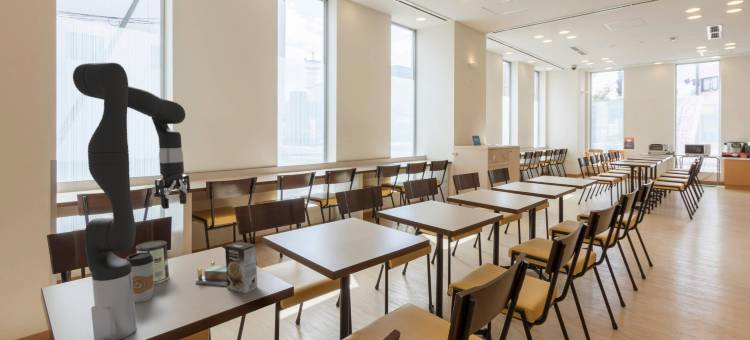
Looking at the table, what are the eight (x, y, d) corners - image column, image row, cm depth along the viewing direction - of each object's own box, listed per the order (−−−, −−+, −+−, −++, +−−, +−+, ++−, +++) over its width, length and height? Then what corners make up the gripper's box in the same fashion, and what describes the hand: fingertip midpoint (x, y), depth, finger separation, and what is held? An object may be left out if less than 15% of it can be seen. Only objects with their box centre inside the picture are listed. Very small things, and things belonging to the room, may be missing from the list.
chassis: (228, 286, 143) (228, 273, 143) (195, 283, 147) (194, 270, 146) (245, 275, 154) (245, 262, 154) (214, 273, 157) (213, 260, 157)
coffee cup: (124, 305, 129) (120, 261, 128) (132, 295, 137) (128, 253, 136) (152, 301, 132) (149, 258, 130) (158, 292, 140) (155, 251, 138)
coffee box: (226, 289, 141) (224, 245, 140) (240, 282, 147) (238, 240, 145) (244, 293, 137) (242, 248, 135) (258, 287, 143) (256, 243, 141)
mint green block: (204, 279, 148) (204, 270, 148) (212, 273, 154) (212, 265, 153) (230, 279, 147) (229, 271, 147) (236, 274, 152) (236, 266, 152)
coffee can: (153, 273, 157) (151, 239, 156) (175, 276, 155) (173, 241, 153) (132, 283, 147) (129, 247, 146) (154, 286, 145) (152, 249, 143)
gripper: (177, 159, 147) (179, 202, 148) (146, 162, 133) (150, 209, 135) (194, 159, 145) (197, 202, 147) (165, 162, 131) (168, 210, 133)
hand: (174, 206), depth 141 cm, fingers open, 8 cm apart
